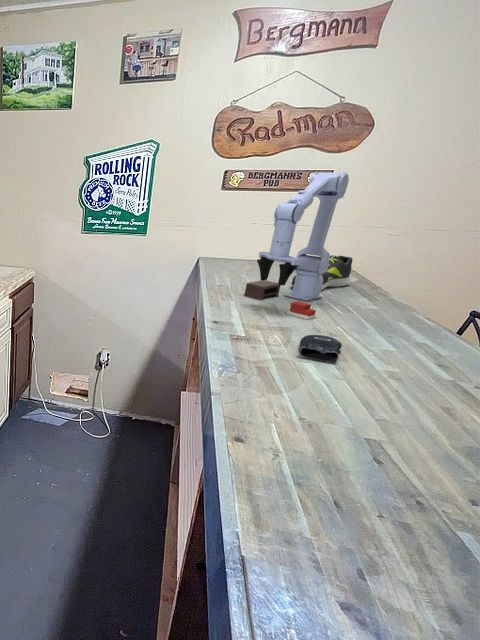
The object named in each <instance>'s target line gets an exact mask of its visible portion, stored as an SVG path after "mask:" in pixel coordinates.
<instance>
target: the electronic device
mask: <svg viewBox="0 0 480 640" xmlns="http://www.w3.org/2000/svg"><path fill="white" fill-rule="evenodd" d="M342 346H343V345H342V343H341V342H340V340H338V339H336V338H334V337H332V336H329V335H322V334H308V335H304V336H303V337H302V338H301V339H300V341H299V348H297V351H298V355H299V358H304V359H310V360H317V361H320V362H324V363H332V362H334V361H335V360H338V359H339V353H340V350H341V349H342Z"/></svg>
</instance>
